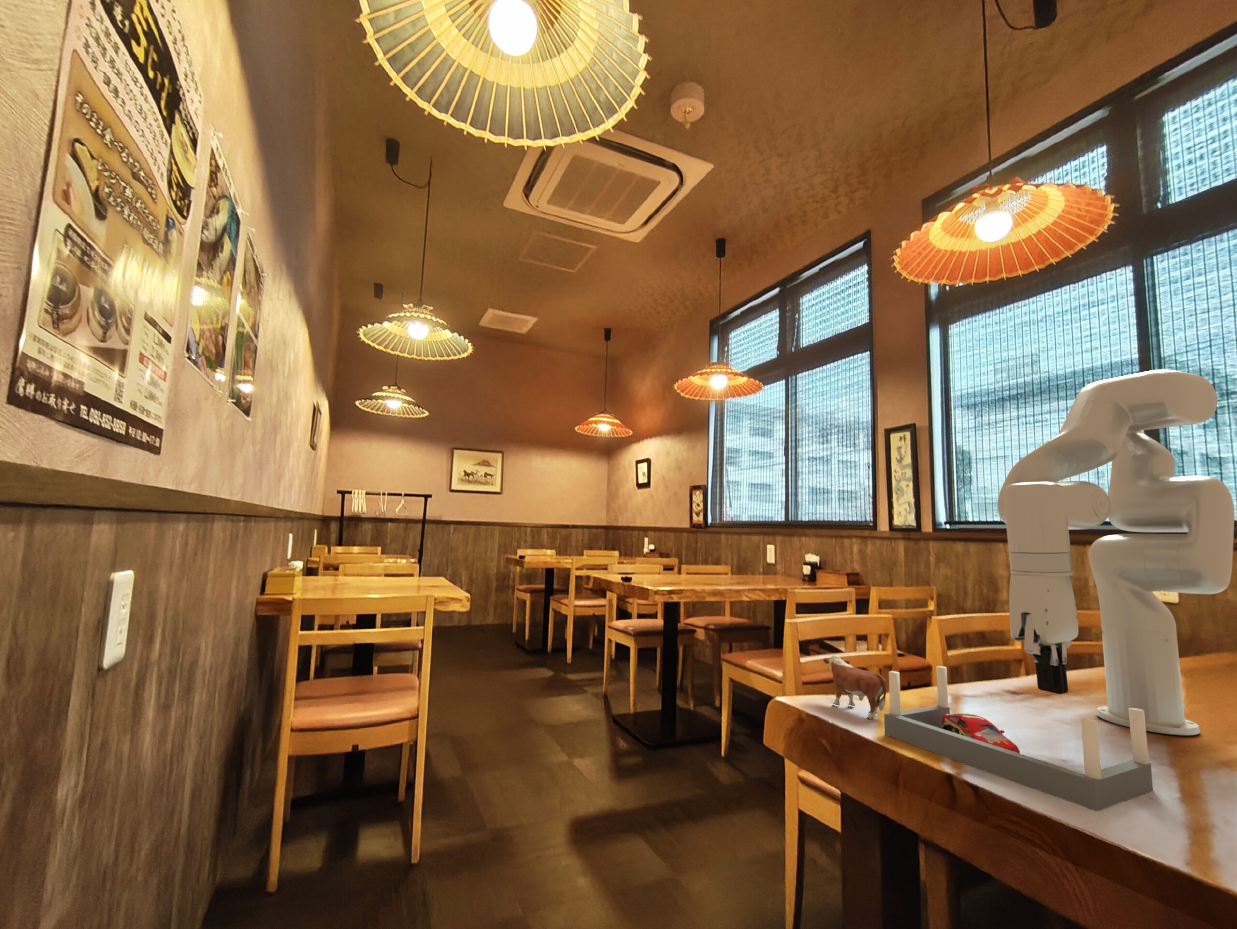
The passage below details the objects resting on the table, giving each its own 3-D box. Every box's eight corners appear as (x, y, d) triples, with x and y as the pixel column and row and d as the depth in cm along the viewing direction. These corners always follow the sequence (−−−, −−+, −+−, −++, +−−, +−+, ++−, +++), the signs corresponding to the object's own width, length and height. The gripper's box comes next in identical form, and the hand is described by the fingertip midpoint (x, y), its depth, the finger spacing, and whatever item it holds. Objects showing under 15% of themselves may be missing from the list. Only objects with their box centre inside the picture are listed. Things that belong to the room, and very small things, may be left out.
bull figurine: (837, 698, 103) (836, 652, 104) (894, 721, 91) (892, 668, 92) (817, 699, 102) (816, 653, 103) (872, 723, 89) (870, 669, 90)
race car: (1028, 768, 73) (1026, 736, 74) (984, 765, 74) (983, 733, 74) (974, 734, 86) (973, 707, 87) (937, 731, 87) (936, 704, 87)
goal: (942, 724, 90) (939, 665, 91) (1153, 789, 67) (1146, 710, 68) (884, 734, 84) (883, 671, 85) (1096, 811, 61) (1090, 723, 62)
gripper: (1038, 560, 91) (1050, 677, 89) (985, 565, 84) (996, 692, 82) (1094, 563, 85) (1109, 689, 83) (1041, 568, 78) (1055, 706, 76)
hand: (1053, 690), depth 82 cm, fingers closed
